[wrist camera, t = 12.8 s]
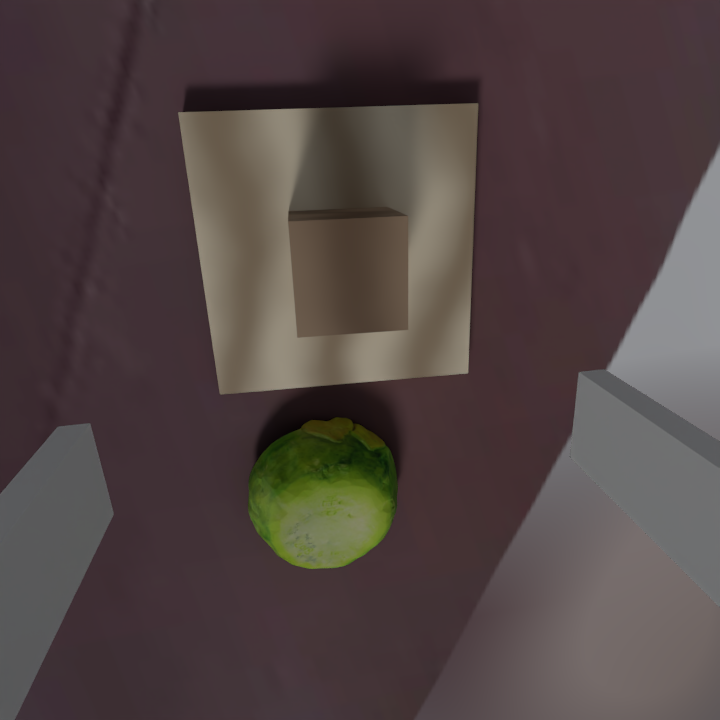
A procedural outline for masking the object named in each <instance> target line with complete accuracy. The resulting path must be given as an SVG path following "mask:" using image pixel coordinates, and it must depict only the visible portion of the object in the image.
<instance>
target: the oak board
mask: <svg viewBox="0 0 720 720" xmlns="http://www.w3.org/2000/svg"><path fill="white" fill-rule="evenodd" d="M178 115H179V121H180V128H181V135H182V142H183V148H184V155H185V162H186V169H187V175H188V182H189V189H190V196H191V202H192V209H193V216H194V223H195V229H196V236H197V243H198V250H199V256H200V263H201V270H202V277H203V283H204V290H205V297H206V304H207V310H208V317H209V324H210V331H211V337H212V344H213V351H214V358H215V364H216V371H217V378H218V385H219V391H220V394H232V393H244V392H255V391H267V390H279V389H290V388H302V387H313V386H325V385H337V384H348V383H360V382H371V381H383V380H395V379H406V378H418V377H430V376H441V375H453V374H464V373H468V361H469V334H470V308H471V282H472V255H473V229H474V202H475V176H476V150H477V123H478V103H468V104H435V105H402V106H370V107H337V108H305V109H272V110H239V111H207V112H178ZM372 207H389V208H391V209H394V210H396V211H398V212H401V213H403V214H405V215H407V216H408V330H400V331H386V332H372V333H358V334H343V335H329V336H315V337H301V338H297V327H296V315H295V302H294V290H293V277H292V265H291V252H290V240H289V227H288V211H305V210H327V209H350V208H372Z"/></svg>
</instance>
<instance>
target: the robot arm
mask: <svg viewBox="0 0 720 720" xmlns="http://www.w3.org/2000/svg"><path fill="white" fill-rule="evenodd" d="M570 458H571V459H572V460H573V461H574V462H575V463H576V464H577V465H578V466H579V467H580V468H581V469H582V470H583V471H584V472H585V473H586V474H587V475H588V476H589V477H590V478H591V479H592V480H593V481H594V482H595V483H596V484H597V485H598V486H599V487H600V488H601V489H602V490H603V491H604V492H605V493H606V494H607V495H608V496H609V497H610V498H611V499H612V500H613V501H614V502H615V503H616V504H617V505H618V506H619V507H620V508H621V509H622V510H623V511H624V512H625V513H626V514H627V515H628V516H629V517H630V518H631V519H632V520H633V521H634V522H635V523H636V524H637V525H638V526H639V527H640V528H641V529H642V530H643V531H644V532H645V533H646V534H647V535H648V536H649V537H650V538H651V539H652V540H653V541H654V542H655V543H656V544H657V545H658V546H659V547H660V548H661V549H662V550H663V551H664V552H665V553H666V554H667V555H668V556H669V557H670V558H671V559H672V560H673V561H674V562H675V563H676V564H677V565H678V566H679V567H680V568H681V569H682V570H683V571H684V572H685V573H686V574H687V575H688V576H689V577H690V578H691V579H692V580H693V581H694V582H695V583H696V584H697V585H698V586H699V587H700V588H701V589H702V590H703V591H704V592H705V593H706V594H707V595H708V596H709V597H710V598H711V599H712V600H713V601H714V602H715V603H716V604H717V605H718V606H719V607H720V441H718V440H717V439H715V438H713V437H712V436H710V435H708V434H707V433H705V432H704V431H702V430H700V429H699V428H697V427H696V426H694V425H693V424H691V423H689V422H688V421H686V420H685V419H683V418H681V417H680V416H678V415H677V414H675V413H673V412H672V411H670V410H668V409H667V408H665V407H664V406H662V405H661V404H659V403H657V402H655V401H654V400H653V399H651V398H649V397H648V396H646V395H645V394H643V393H641V392H640V391H638V390H637V389H635V388H633V387H632V386H630V385H628V384H627V383H625V382H624V381H622V380H621V379H619V378H617V377H616V376H614V375H612V374H611V373H609V372H608V371H606V370H605V369H604V370H594V371H584V372H579V376H578V386H577V395H576V404H575V414H574V423H573V432H572V441H571V451H570ZM113 514H114V513H113V509H112V505H111V502H110V498H109V494H108V490H107V486H106V482H105V479H104V475H103V471H102V467H101V463H100V460H99V456H98V452H97V448H96V444H95V440H94V437H93V433H92V429H91V425H90V423H89V424H79V425H69V426H60V427H57V428H56V430H55V431H54V432H53V433H52V434H51V435H50V437H49V438H48V439H47V440H46V441H45V442H44V444H43V445H42V446H41V447H40V448H39V449H38V451H37V452H36V453H35V454H34V455H33V456H32V458H31V459H30V460H29V461H28V462H27V463H26V465H25V466H24V467H23V468H22V469H21V470H20V472H19V473H18V474H17V475H16V476H15V477H14V479H13V480H12V481H11V482H10V483H9V484H8V486H7V487H6V488H5V489H4V490H3V491H2V493H1V494H0V720H15V718H16V716H17V714H18V712H19V710H20V708H21V705H22V703H23V701H24V699H25V697H26V695H27V693H28V691H29V689H30V687H31V685H32V683H33V681H34V678H35V676H36V674H37V672H38V670H39V668H40V666H41V664H42V662H43V660H44V658H45V656H46V654H47V651H48V649H49V647H50V645H51V643H52V641H53V639H54V637H55V635H56V633H57V631H58V629H59V627H60V624H61V622H62V620H63V618H64V616H65V614H66V612H67V610H68V608H69V606H70V604H71V602H72V600H73V597H74V595H75V593H76V591H77V589H78V587H79V585H80V583H81V581H82V579H83V577H84V575H85V573H86V570H87V568H88V566H89V564H90V562H91V560H92V558H93V556H94V554H95V552H96V550H97V548H98V546H99V543H100V541H101V539H102V537H103V535H104V533H105V531H106V529H107V527H108V525H109V523H110V521H111V519H112V516H113Z"/></svg>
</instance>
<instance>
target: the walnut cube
mask: <svg viewBox="0 0 720 720" xmlns="http://www.w3.org/2000/svg"><path fill="white" fill-rule="evenodd" d="M288 227H289V240H290V252H291V265H292V277H293V290H294V302H295V315H296V327H297V338H301V337H315V336H329V335H343V334H358V333H372V332H386V331H400V330H408V216H407V215H405V214H403V213H401V212H398V211H396V210H394V209H391V208H389V207H372V208H350V209H327V210H305V211H288Z"/></svg>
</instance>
